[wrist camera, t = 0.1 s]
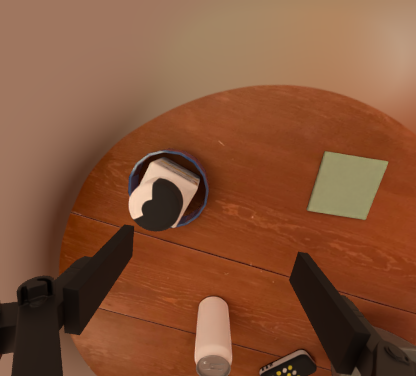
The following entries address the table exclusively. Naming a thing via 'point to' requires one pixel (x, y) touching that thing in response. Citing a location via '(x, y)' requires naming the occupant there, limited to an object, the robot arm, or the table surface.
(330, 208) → the mat
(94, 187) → the table surface
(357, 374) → the bowl
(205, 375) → the can
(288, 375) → the remote control
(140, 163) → the ring
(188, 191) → the container
